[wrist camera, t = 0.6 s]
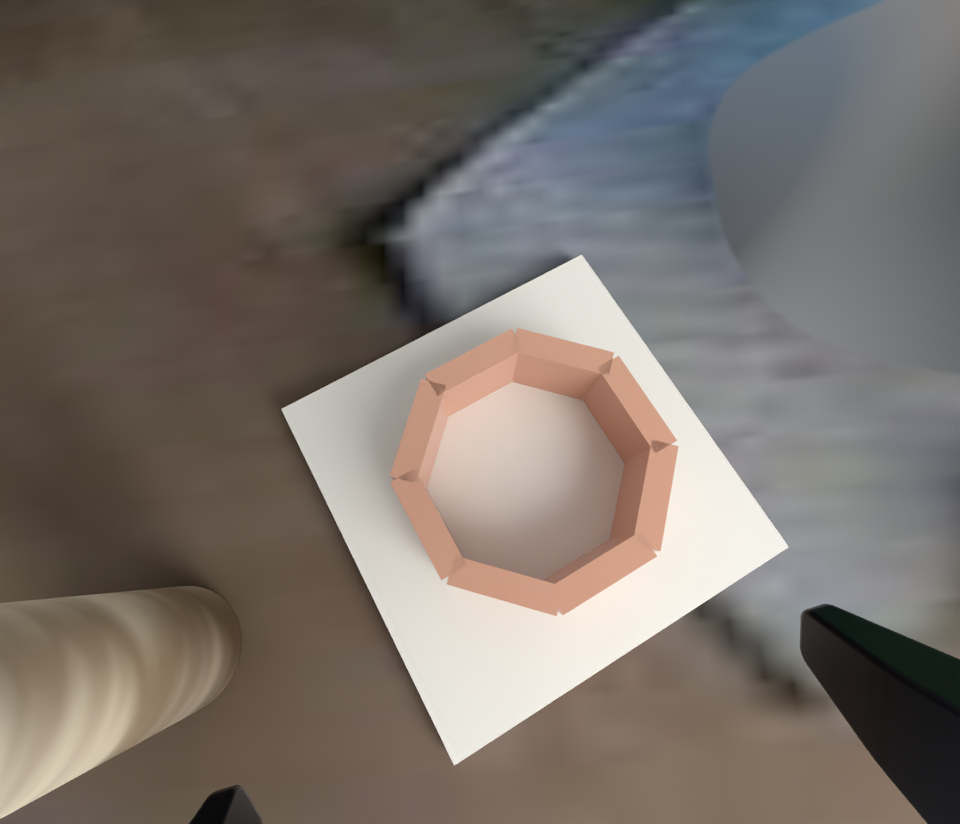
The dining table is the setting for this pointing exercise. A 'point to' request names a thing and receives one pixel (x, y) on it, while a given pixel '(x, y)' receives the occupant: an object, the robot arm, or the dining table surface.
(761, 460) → the dining table surface
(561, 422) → the octagonal ring base
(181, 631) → the beech peg
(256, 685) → the dining table surface
